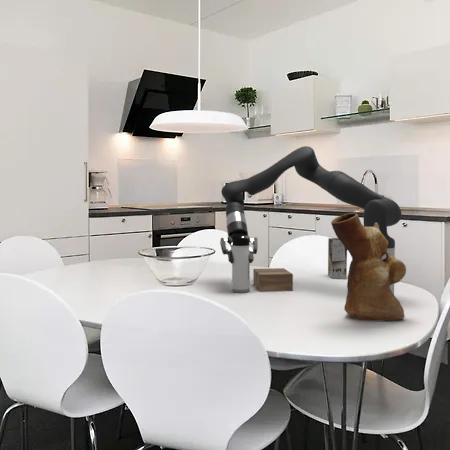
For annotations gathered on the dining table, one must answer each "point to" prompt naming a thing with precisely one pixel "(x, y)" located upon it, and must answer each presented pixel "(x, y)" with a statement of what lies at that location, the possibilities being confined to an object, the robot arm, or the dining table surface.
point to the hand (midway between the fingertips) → (241, 261)
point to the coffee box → (337, 258)
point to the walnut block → (273, 279)
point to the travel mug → (240, 265)
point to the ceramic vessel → (369, 271)
